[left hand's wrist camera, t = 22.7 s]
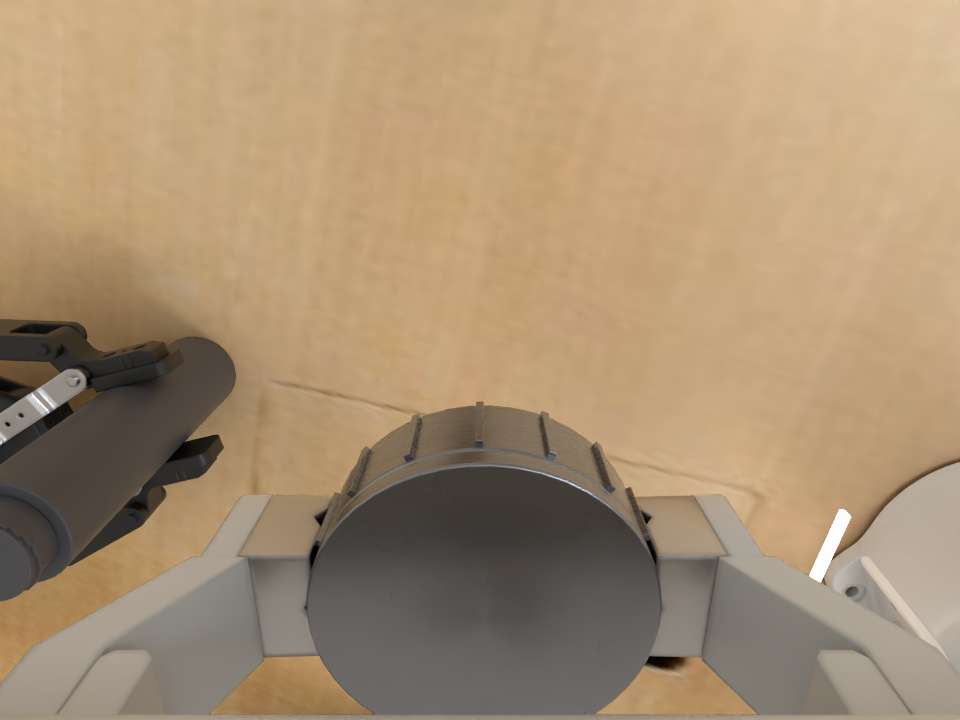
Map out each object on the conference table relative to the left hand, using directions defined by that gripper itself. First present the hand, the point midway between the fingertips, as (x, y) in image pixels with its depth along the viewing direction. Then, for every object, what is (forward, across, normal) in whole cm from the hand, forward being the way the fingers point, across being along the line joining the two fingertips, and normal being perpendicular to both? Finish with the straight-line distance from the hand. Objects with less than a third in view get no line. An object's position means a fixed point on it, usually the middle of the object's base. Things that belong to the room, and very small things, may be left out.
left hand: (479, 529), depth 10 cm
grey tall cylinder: (+26, +17, +8) cm, 32 cm away
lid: (-2, 0, 0) cm, 2 cm away
